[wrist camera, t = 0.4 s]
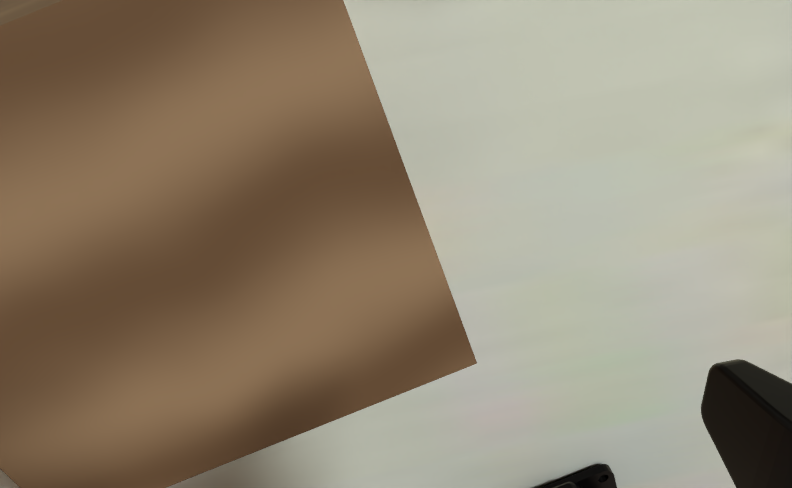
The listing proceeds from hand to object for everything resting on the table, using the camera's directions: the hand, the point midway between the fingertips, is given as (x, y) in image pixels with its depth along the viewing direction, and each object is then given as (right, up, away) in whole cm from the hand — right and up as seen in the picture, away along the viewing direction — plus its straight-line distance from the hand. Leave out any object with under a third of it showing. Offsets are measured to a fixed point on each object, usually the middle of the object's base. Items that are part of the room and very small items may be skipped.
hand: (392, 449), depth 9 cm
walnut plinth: (-7, +4, +13) cm, 15 cm away
